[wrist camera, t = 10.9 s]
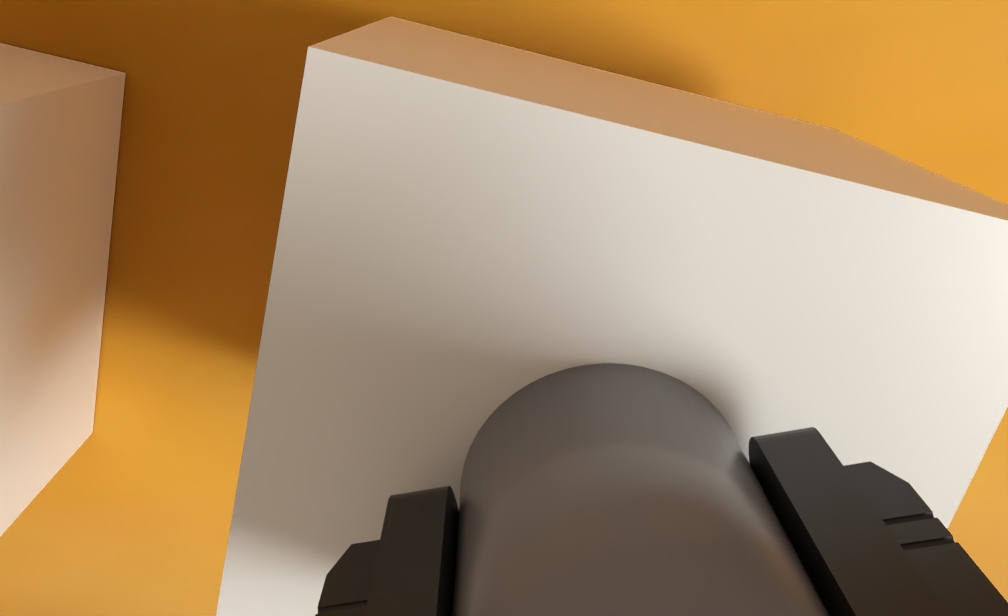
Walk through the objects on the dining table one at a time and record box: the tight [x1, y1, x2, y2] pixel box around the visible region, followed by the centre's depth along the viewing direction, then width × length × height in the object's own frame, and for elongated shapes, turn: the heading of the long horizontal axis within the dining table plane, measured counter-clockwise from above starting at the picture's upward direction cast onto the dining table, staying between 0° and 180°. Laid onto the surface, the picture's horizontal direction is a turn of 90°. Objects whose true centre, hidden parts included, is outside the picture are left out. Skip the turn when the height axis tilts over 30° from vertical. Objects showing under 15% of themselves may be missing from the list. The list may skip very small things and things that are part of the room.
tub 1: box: [216, 16, 1008, 616], centre depth 13 cm, size 9×9×13 cm
